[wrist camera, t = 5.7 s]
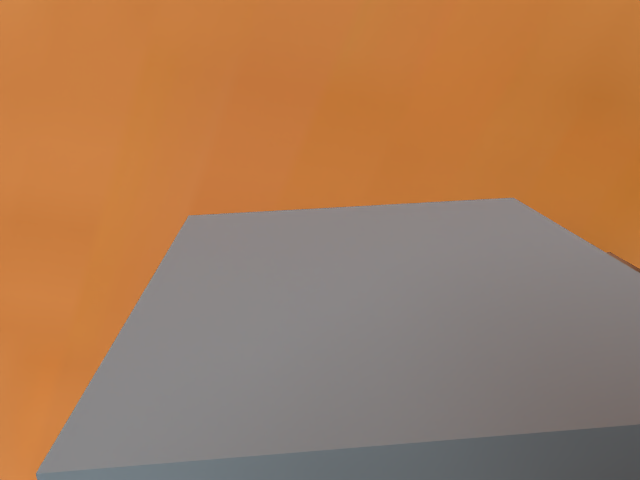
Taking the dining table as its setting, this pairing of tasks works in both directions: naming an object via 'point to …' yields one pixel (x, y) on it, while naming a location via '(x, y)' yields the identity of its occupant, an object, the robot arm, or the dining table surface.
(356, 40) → the dining table surface
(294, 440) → the slate block
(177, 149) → the dining table surface
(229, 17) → the dining table surface
